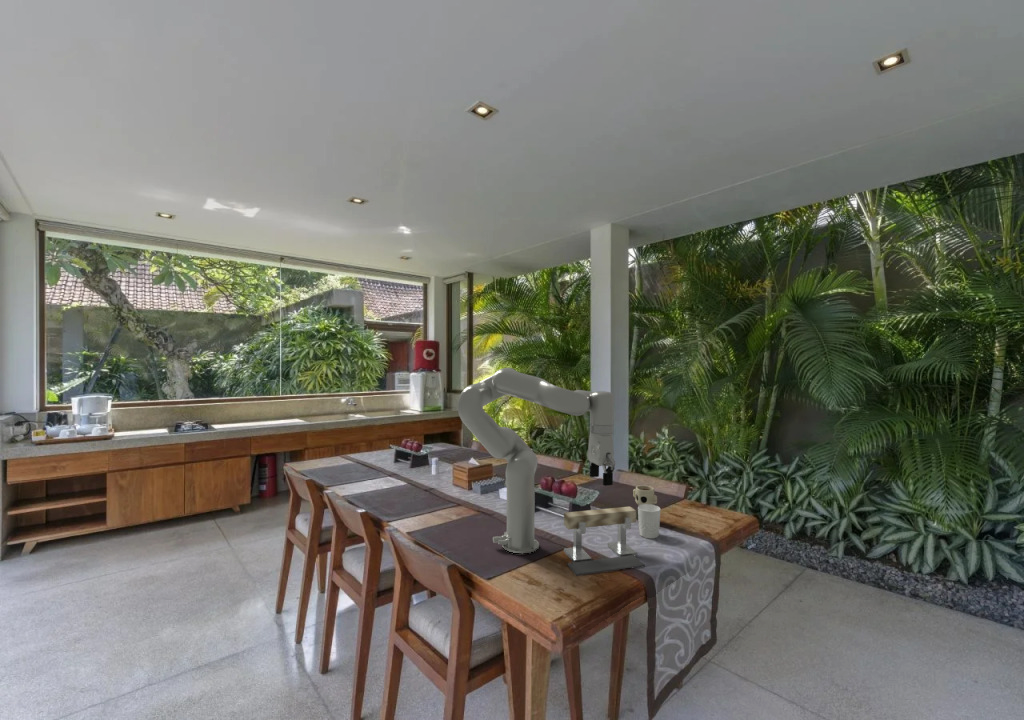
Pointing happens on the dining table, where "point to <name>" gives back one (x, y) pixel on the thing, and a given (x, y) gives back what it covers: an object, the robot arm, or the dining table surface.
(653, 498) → the character mug
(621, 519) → the rail
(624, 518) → the hook stands
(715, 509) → the dining table surface
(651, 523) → the white cup
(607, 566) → the mat
